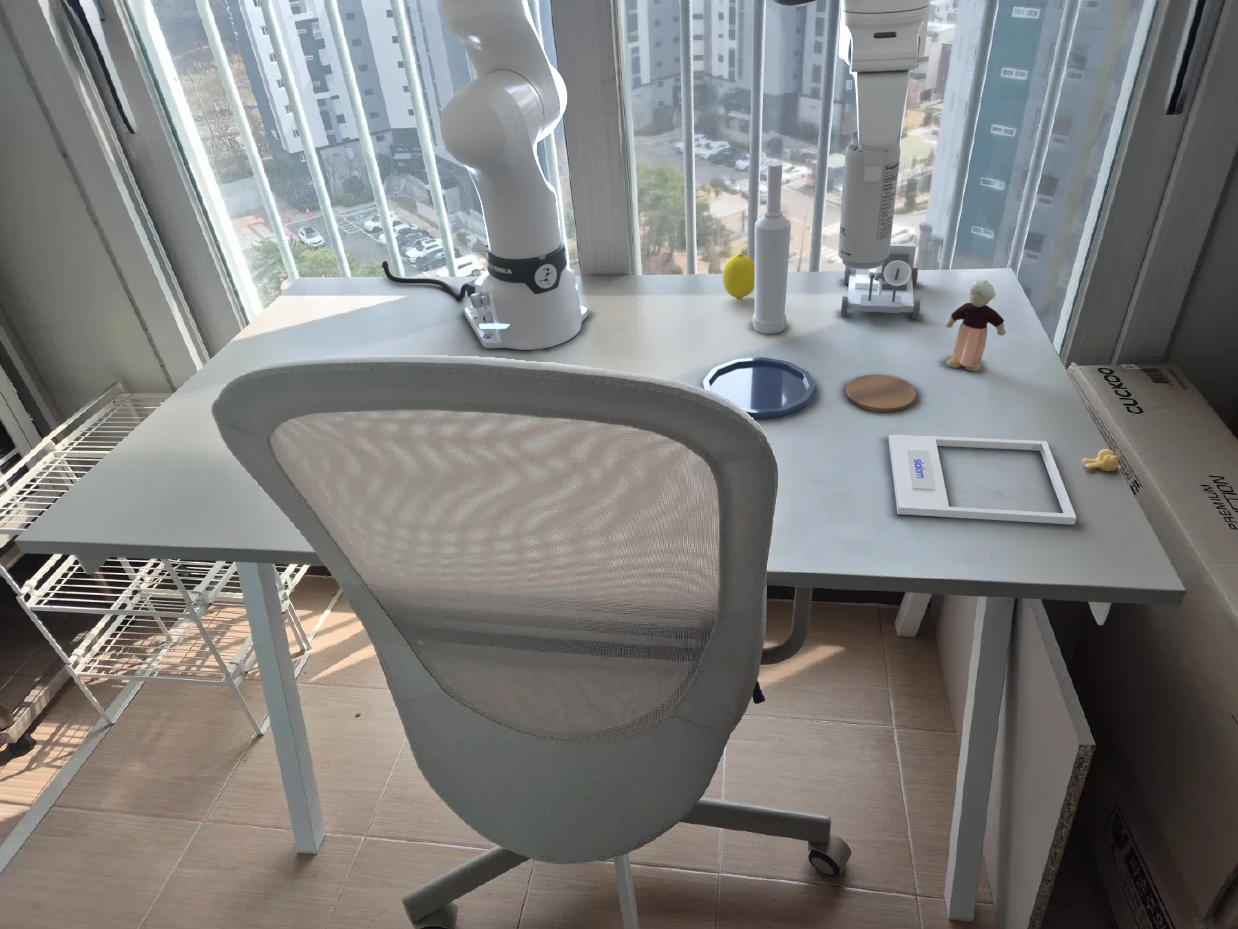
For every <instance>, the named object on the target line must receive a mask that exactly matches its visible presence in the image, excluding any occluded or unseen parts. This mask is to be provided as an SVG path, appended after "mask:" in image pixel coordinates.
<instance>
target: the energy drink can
mask: <svg viewBox="0 0 1238 929" xmlns="http://www.w3.org/2000/svg"><path fill="white" fill-rule="evenodd" d="M851 138H852V139H851V140H850V142H849V144H848V145H847V147H846V148H845V155H844V170H843V182H842V195H841V196H842V197H841V207H840V208H841V209H840V210H841V211H840V224H839V237H838V249H837V250H838V251H837V255H838V257H839V258H840V260H841V263H842V264H843V265H844V266H847V267H850V268H855V269H873V268H877V267H879V266H881V265H882V264H883V263H884V260H885V259H887V258H888V256H889V252H890V243H891V242H892V232H893V225H894V224H893V223H894V215H895V214H894V213H895V204H896V196H897V186H898V176H899V168H900V160H901V147H900V145H899V142H898V140H897V141H896V144H895V146H894V148H893V149H892V150H889V151H885V154H884V158H883V162H882V168H881V178H880V180H879V181H876V182H867V181H865V180H864V166H865V151H861V150H860V148H859V143H858V130H856V131H854V132H853V133H852V134H851Z"/></svg>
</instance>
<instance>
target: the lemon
mask: <svg viewBox="0 0 1238 929" xmlns="http://www.w3.org/2000/svg"><path fill="white" fill-rule="evenodd" d="M722 284H723V287H724V290H725V291H726V292H727V294H729V295H730V296H732V297H735V298H736V300H738V301H739V300H742V299H743V298H744V297H746V296H747V297H748V296H749V295H750V294H751V293H752V292H753V291H754V290H755V261H754V260H753V259H752V258H751V257H749V256H747V255H745V254H743V253H741V252H738V253H737V254H735V255H733V256H731V257H730V258H729V259H728V260H727V261H726V263H725V265H724V267H723V272H722Z"/></svg>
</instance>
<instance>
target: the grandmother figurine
mask: <svg viewBox="0 0 1238 929" xmlns="http://www.w3.org/2000/svg"><path fill="white" fill-rule="evenodd" d="M968 289H969V290H968V292H969V302H966V303H964V304H963V305H961V306H959V307H958V308H956V309H955V310H954V311H953V312H952V313H951V314H950V316H949V318H948V319H947V321H946V322H945V324H944V325H945V327H946V328H948V329H950V328H952V327H953V326H954V324H956V322H957V321H960V320H962V321H961V324H960V325H959V328H958V331H957V334H956V339H955V342H954V345H953V351H952V354H951V358H949V359H947V361H946V366H947V367H949V368H955V369H957V368H960V367H962V366H963V367H964V368H965V370H968V371H970V372H971V371H972V372H978V371H980V370H981V362H982V358H983V355H984V351H985V347H986V344H987V343H986V342H987V338H988V324H990V325H991V326H993V327H995V329H996V330H997V331H996V332H997V335H999V336H1004V335H1005V334H1006V332H1007V331H1006V329H1005V325H1004V322H1005V319H1004V317H1002V316H1001V315H1000V313H998V311H996V310H995V309H994V308H992V307H990V306H989V305H988V303H989V302H990V301H992V300H993V299H994V298H995V296H997V294H996V290H995V288H994V286H993V284H991V283H990V282H989V281H988V280H986V279H978V280H975V281H973V282H972V283H971V284H970V285H969V288H968Z"/></svg>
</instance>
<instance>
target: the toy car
mask: <svg viewBox="0 0 1238 929" xmlns="http://www.w3.org/2000/svg"><path fill="white" fill-rule="evenodd" d="M916 248H917V243H890V252H889V256H888V258H887V259H885V260H884V263H883V264H882V265H881V266H879V267H877V268H873V269H855V268H850V267H847V266H845V265H844V266H845V267H844V277H843V284H844V285H848V289H847V296H846V295H845V296H842V298H841V310H840V316H842V317H847V314H848V310H851V311H859V312H864V313H865V312H866V313H867V312H868V313H887V314H888V313H889V314H890V313H892V314H901V313H911V319H912V320H918V319H919V317H920V310H921V299H919V298H918V299H917V298H914V287H917V282H918V275H919V269H918V267H914V263H915V257H916V250H917V249H916Z"/></svg>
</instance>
